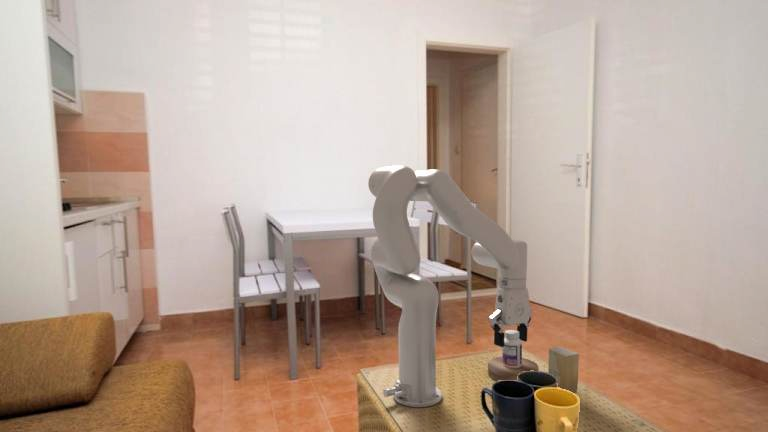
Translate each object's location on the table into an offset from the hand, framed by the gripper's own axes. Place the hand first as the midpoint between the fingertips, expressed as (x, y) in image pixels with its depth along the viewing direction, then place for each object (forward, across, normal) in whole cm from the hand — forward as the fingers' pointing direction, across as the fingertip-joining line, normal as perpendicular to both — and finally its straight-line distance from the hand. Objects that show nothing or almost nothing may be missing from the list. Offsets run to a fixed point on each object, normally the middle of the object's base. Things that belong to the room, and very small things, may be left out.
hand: (510, 342), depth 133 cm
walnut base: (+10, +1, 0) cm, 10 cm away
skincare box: (+10, 0, -17) cm, 20 cm away
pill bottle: (+7, +1, 0) cm, 7 cm away
